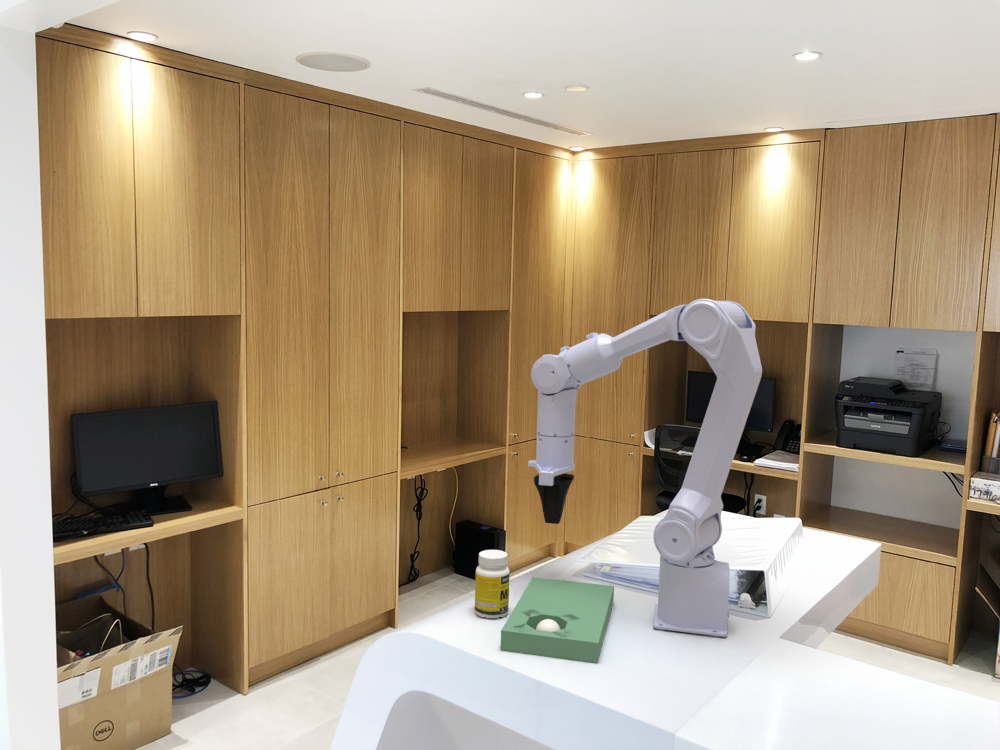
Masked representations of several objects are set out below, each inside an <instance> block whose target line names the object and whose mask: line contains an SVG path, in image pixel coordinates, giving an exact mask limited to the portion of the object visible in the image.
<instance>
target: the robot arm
mask: <svg viewBox="0 0 1000 750" xmlns="http://www.w3.org/2000/svg"><path fill="white" fill-rule="evenodd" d="M756 327H757V326H756V323H755V322H754V320H753V319H752V317H751V316H750V315H749V314H748V312H747V310H746V309H745V308H744V307H743V305H741V304H739V303H738V302H736V301H733V300H727V299H726V300H713V299H709V298H698V299H695V300H693V301H691V302H689V303H688V304H681V305H678V306H677V305H676V306H675V307H672V308H670V309H668V310H666V311H664V312H662V313H660V314H658V315H656V316H654V317H652V318H649V319H647V320H645V321H644V322H641V323H640V324H638V325H635V326H634V327H632V328H629V329H627V330H625V331H624V332H622V333H620V334H617V335H615V336H614V337H613V336H612V335H609V334H607V333H598V332H591V333H589V334H587V335H586V336H585V338H586V340H584V341H581V342H579V343H577V344H575V345H573V346H568V345H567V346H563V347H561V348H560V349H559V350H560V352H559V354H551V353H549V354H543V355H542V356H541V357H539V358H538V359H537V360H535V362H534V363H533V365H532V368H531V372H530V374H531V375H530V376H531V377H530V378H531V381H532V384H533V386H534V387H535V389H536V390H537V413H536V414H537V415H536V416H537V420H536V422H537V423H536V448H535V449H536V451H535V453H536V454H535V459H530V460H529V461H528V462H527V467H530V468H531V467H533V468H534V469H535V470H536V471H537V472H538V474H536V475H535V476H534V477H533V483H534V486H535V488H536V489H537V492H538V494H539V497H540V502H541V508H542V513H543V519H544V522H545V523H546V524H554V525H555V524H556V525H560V524H559V523H561V520H562V517H563V513H564V507H565V503H566V498H567V495H568V492H569V490H570V487H571V485H572V483H573V481H574V479H575V474H572V473H569V472H572V471H574V470H575V468H576V464H575V438H576V437H575V434H576V430H575V429H576V406H577V404H576V403H577V398H578V391H579V389H580V388H581V387H582V385H585V384H586V383H589V382H591V381H594V380H597V379H600V378H601V377H604V376H606V375H609V374H611V373H613V372H616V371H618V370H619V369H620V367H621V365H622V362H623V359H624V358H626V357H628V356H632V355H633V354H634V355H635V354H638V353H640V352H642V351H644V350H648V349H650V348H653V347H655V346H657V345H661V344H663V343H666V342H668V341H675V342H683V341H684V342H686V343H687V344H688V345H690V347H692V349H694V350H695V351H696V352H698V354H700V355H701V356H702V357H703V358H704V359H705V360H706V362H707V363H708V365H709V367H710V368H711V369H712V371H713V372H714V374H715V376H716V380H715V381H716V382H715V384H714V387H713V391H712V393H711V396H710V399H709V403H708V406H707V409H706V412H705V415H704V418H703V421H702V423H701V424H702V425H701V427H700V431H699V433H698V435H697V440H696V442H695V446H694V448H693V451H692V455H691V459H690V461H689V464H688V467H687V470H686V473H685V477H684V480H683V482H682V485H681V488H680V490H679V491H678V493H676V495H675V497H674V498H673V500H672V501H671V502H670V504H669V507H668V510H667V512H666V514H665V516H663V518H661V519H660V520H659V521H658V522H657V524H655V527H654V530H653V543H654V546H655V548H656V550H657V552H658V553H659V572H658V573H659V574H658V595H657V604H655V608H654V615H653V621H652V625H653V626H652V627H653V628H654V629H655V630H656V629H657V630H663V631H664V630H665V631H673V632H681V633H689V634H698V635H705V636H711V637H712V636H713V637H720V638H721V637H722V638H723V637H724V638H726V637H728V619H729V617H730V614H731V613H730V611H731V609H730V607H731V605H730V603H729V601H730V600H729V597H730V563H729V562H726V561H722V560H721V561H720V560H717V559H716V558H715V553H714V546H715V545H716V544H717V543H718V542H719V541H720V539H721V536H722V532H723V527H722V520H721V519H722V518H721V517H722V516H721V515H722V512H723V509H724V503H723V500H722V494H723V491H724V488H725V485H726V482H727V479H728V476H729V473H730V469H731V468H732V465H733V462H734V460H735V459H734V458H735V455H736V453H737V449H738V447H739V445H740V444H739V443H740V442H741V441H740V440H741V438H742V435H743V432H744V430H745V426H746V423H747V419H748V417H749V414H750V412H751V408H752V405H753V403H754V400H755V397H756V394H757V391H758V388H759V385H760V382H761V380H762V379H761V378H762V375H763V367H762V363H761V358H760V353H759V350H758V349H759V348H758V343H757V339H756Z"/></svg>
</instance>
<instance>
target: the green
mask: <svg viewBox="0 0 1000 750" xmlns="http://www.w3.org/2000/svg"><path fill="white" fill-rule="evenodd" d="M614 597H615V586H614V585H608V584H600V583H591V582H581V581H574V580H573V581H572V580H564V579H555V578H546V577H537V576H532V578H531V579H530V582H529V583H528V585H527V586H526V588H525V590H524V591H523V593H522V595H521V596H520V597H519V599H518V601H517V603H516V605H515V606H514V607H513V610H512V611H511V613H510V615H509V616H508V618H507V619H506V622H505V623H504V625H503V627H502V628H501V630H500V649H501V650H500V651H505V650H507V651H506V652H512V651H513V653H522V654H526V655H527V654H529V655H536V656H542V657H549V658H557V659H564V660H572V661H578V662H579V661H580V662H586V663H594V664H598V663H599V658H600V655H601V651H602V647H603V644H604V640H605V637H606V632H607V628H608V626H609V621H610V618H611V613H612V610H613V606H614ZM545 619H551V620H554V621H555V622H556V623H557V624H558V625H559V627H560V629H561V630H557V631H553V632H550V631H542V630H536V627H537V625H538V624H539V623H540V622H541V621H542V620H545Z"/></svg>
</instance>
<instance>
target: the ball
mask: <svg viewBox="0 0 1000 750" xmlns="http://www.w3.org/2000/svg"><path fill="white" fill-rule="evenodd" d="M536 630H542V631H550V632H553V631H557V630H561V629H560V627H559V625H558V624H557V623H556V622H555V621H554V620H551V619H545V620H542V621H541V622H540V623H539V624H538V625H537V627H536Z"/></svg>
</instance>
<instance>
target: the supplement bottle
mask: <svg viewBox="0 0 1000 750" xmlns="http://www.w3.org/2000/svg"><path fill="white" fill-rule="evenodd" d="M508 557H509V555H508V553H507V552H506V551H503V550H500V549H485V550H482V551H480V552H479V553H478V565H477V567H476V569H475V580H474V581H475V585H474V589H475V590H474V613H475V615H477V616H478V615H480V616H483V617H487V618H486V619H488V618H497V619H500V618H499V617H502V618H505V617H507V615H508V614H509V605H510V604H509V603H510V600H509V596H510V576H511V575H510V574H511V573H510V568H509V567H508V562H509V560H508ZM480 616H479V617H480Z"/></svg>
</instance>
